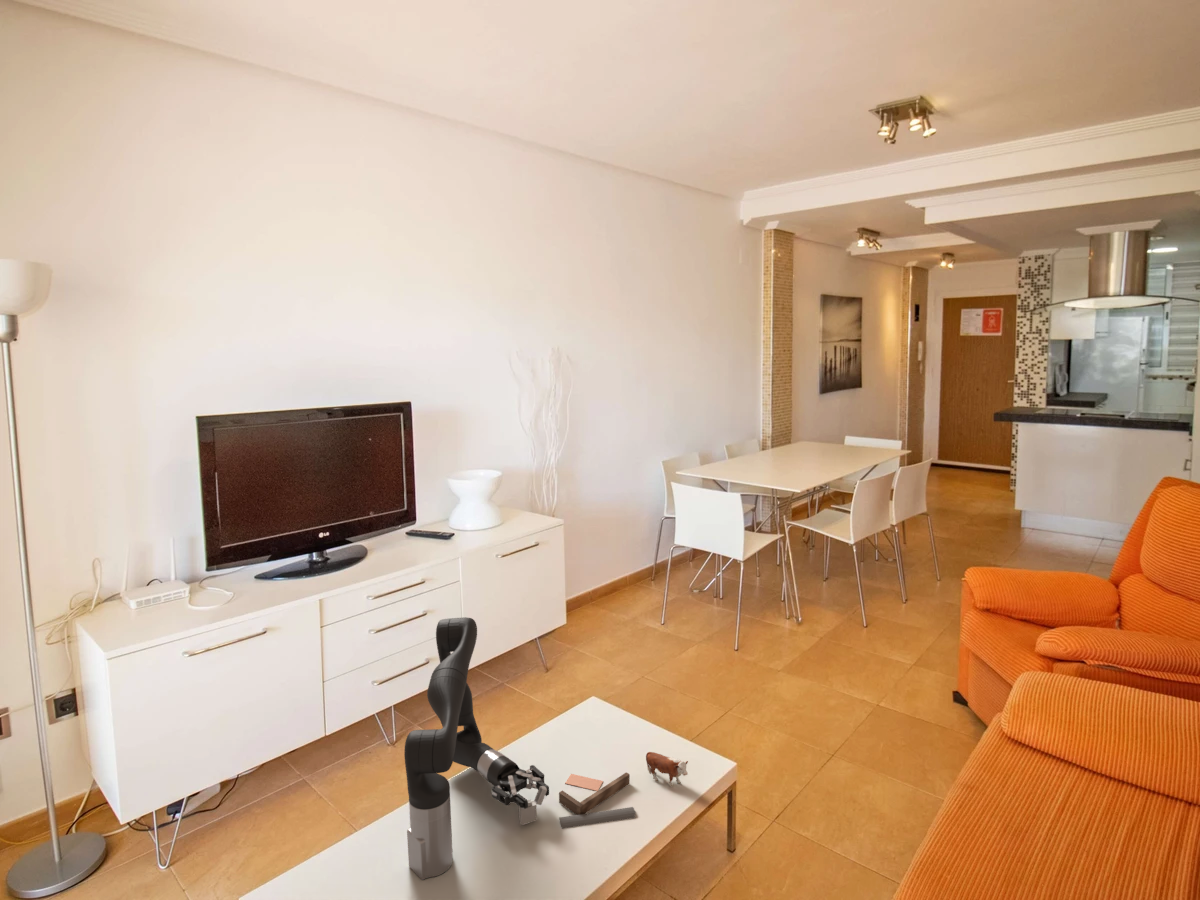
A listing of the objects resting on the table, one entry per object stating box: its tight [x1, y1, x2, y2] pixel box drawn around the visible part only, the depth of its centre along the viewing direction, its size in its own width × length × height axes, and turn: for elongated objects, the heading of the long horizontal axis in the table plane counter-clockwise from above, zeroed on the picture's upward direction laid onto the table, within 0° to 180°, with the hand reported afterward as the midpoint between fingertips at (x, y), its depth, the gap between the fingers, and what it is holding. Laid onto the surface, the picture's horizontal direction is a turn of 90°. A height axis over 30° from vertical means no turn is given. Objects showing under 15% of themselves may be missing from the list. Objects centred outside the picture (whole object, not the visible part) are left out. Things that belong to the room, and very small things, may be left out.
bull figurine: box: [645, 751, 689, 787], centre depth 191 cm, size 4×13×8 cm, turn 53°
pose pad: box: [565, 773, 604, 792], centre depth 191 cm, size 4×10×1 cm, turn 70°
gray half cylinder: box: [558, 806, 636, 830], centre depth 177 cm, size 4×20×2 cm, turn 101°
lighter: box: [518, 786, 547, 826], centre depth 175 cm, size 7×2×8 cm, turn 117°
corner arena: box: [558, 772, 630, 815], centre depth 186 cm, size 19×8×3 cm, turn 135°
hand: (537, 798), depth 174 cm, fingers closed on lighter, 6 cm apart
